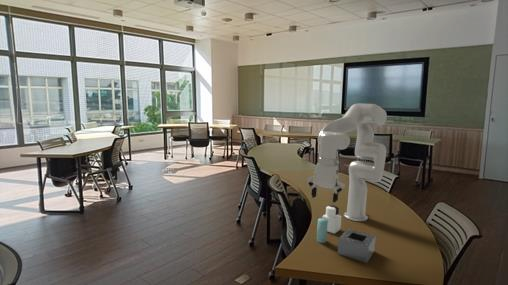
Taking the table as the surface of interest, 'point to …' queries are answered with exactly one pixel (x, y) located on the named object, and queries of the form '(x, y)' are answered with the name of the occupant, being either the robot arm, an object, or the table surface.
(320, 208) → the table surface
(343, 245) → the socket
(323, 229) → the plug
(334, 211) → the medicine bottle
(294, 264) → the table surface
